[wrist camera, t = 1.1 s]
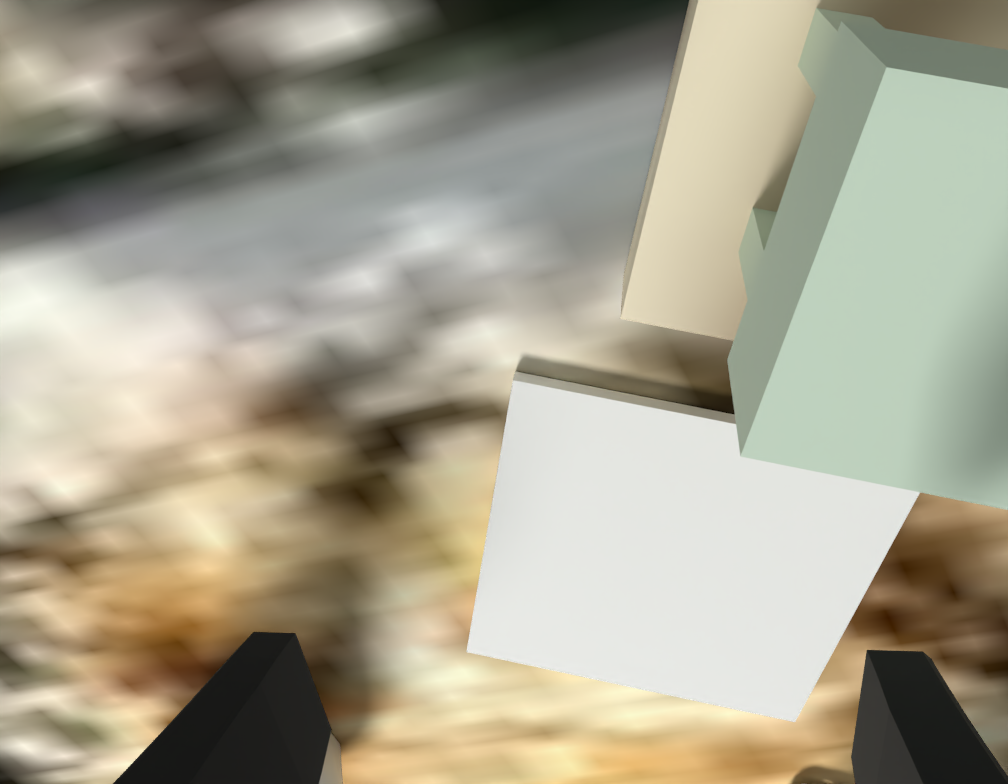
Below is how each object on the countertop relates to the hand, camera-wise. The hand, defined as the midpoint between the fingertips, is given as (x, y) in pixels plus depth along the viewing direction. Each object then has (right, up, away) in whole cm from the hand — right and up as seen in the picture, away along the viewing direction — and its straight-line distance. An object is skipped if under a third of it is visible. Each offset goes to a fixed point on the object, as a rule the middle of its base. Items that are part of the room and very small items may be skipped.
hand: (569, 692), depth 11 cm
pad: (+4, -1, +12) cm, 13 cm away
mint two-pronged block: (+6, +8, +4) cm, 10 cm away
